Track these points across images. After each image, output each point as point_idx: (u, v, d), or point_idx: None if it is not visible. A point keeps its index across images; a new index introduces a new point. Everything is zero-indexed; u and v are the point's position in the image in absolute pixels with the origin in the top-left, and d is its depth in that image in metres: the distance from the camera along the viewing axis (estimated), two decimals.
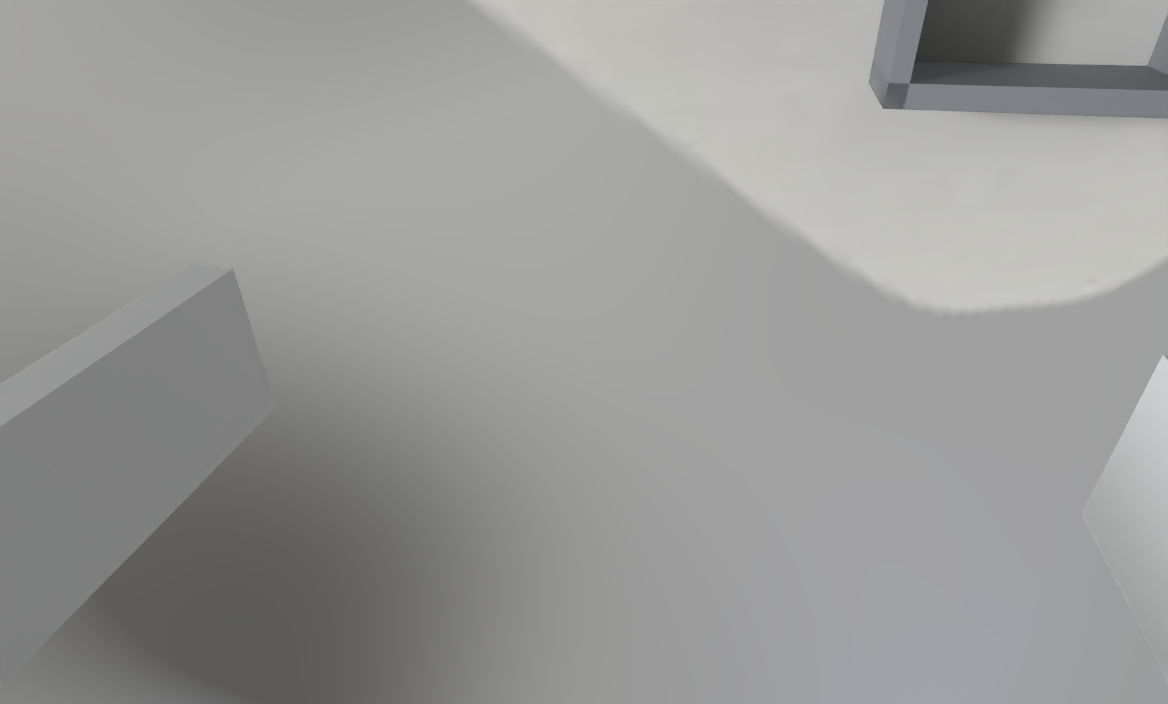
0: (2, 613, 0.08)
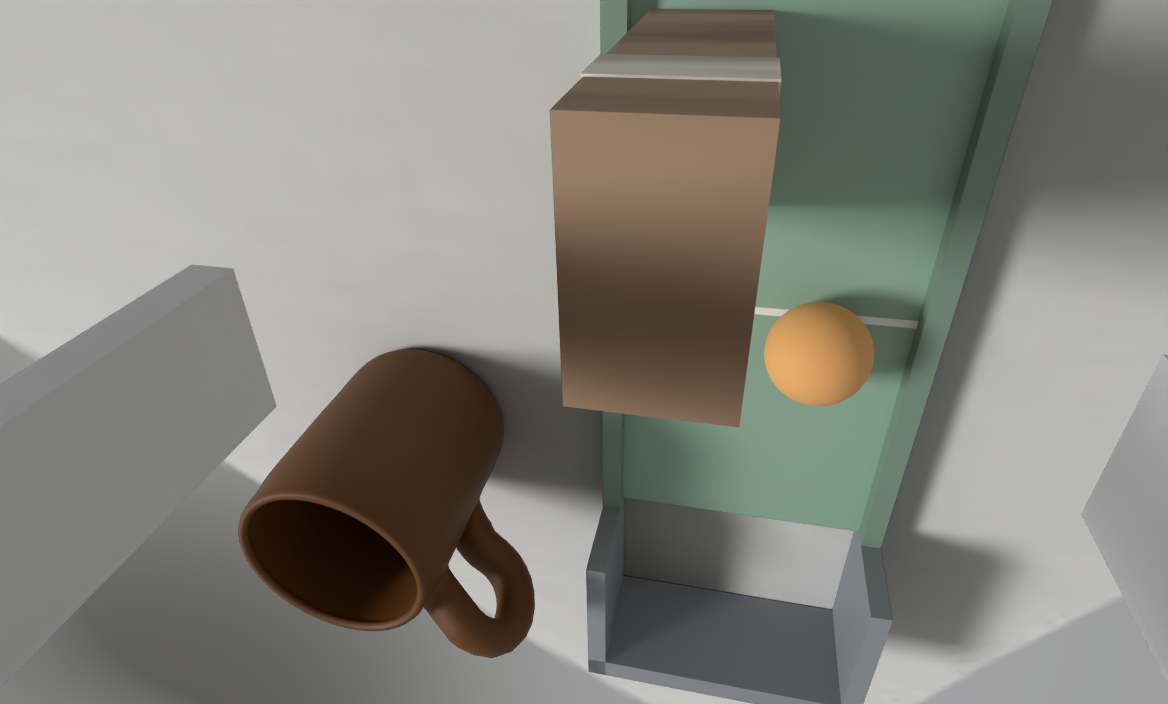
0: (2, 613, 0.08)
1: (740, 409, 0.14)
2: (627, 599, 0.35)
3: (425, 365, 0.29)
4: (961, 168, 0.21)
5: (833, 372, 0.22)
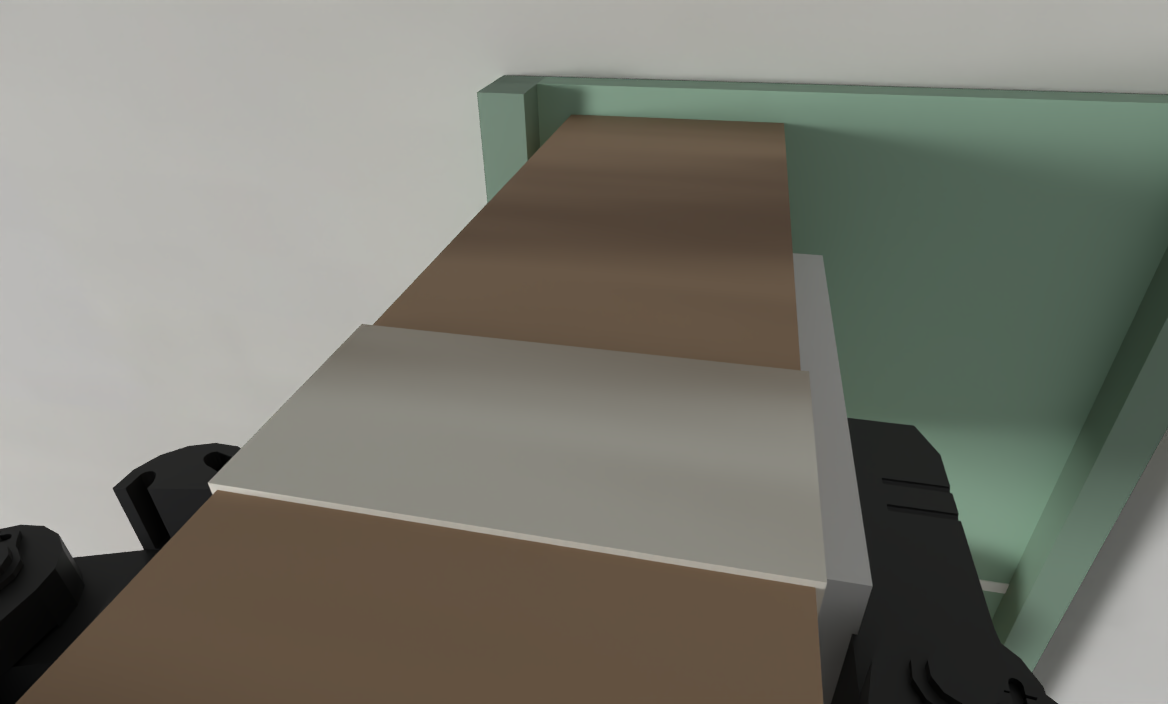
0: None
1: None
2: None
3: None
4: (1103, 384, 0.13)
5: None
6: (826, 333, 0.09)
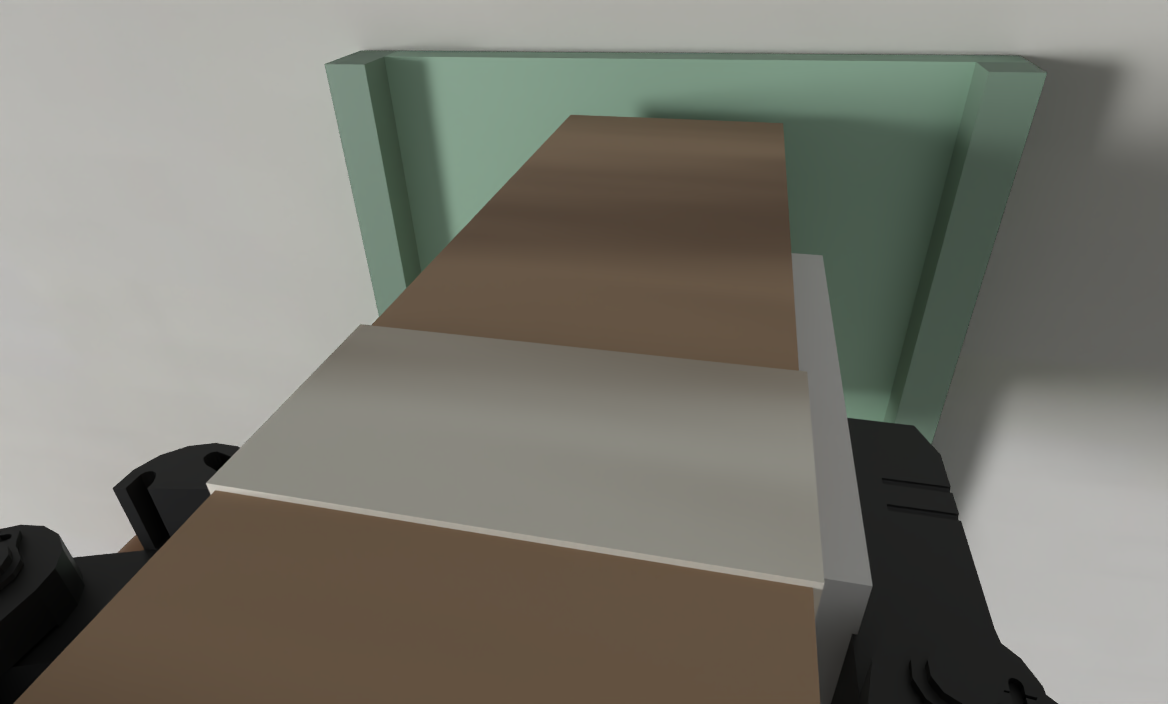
0: None
1: None
2: None
3: None
4: (908, 323, 0.14)
5: None
6: (826, 333, 0.09)
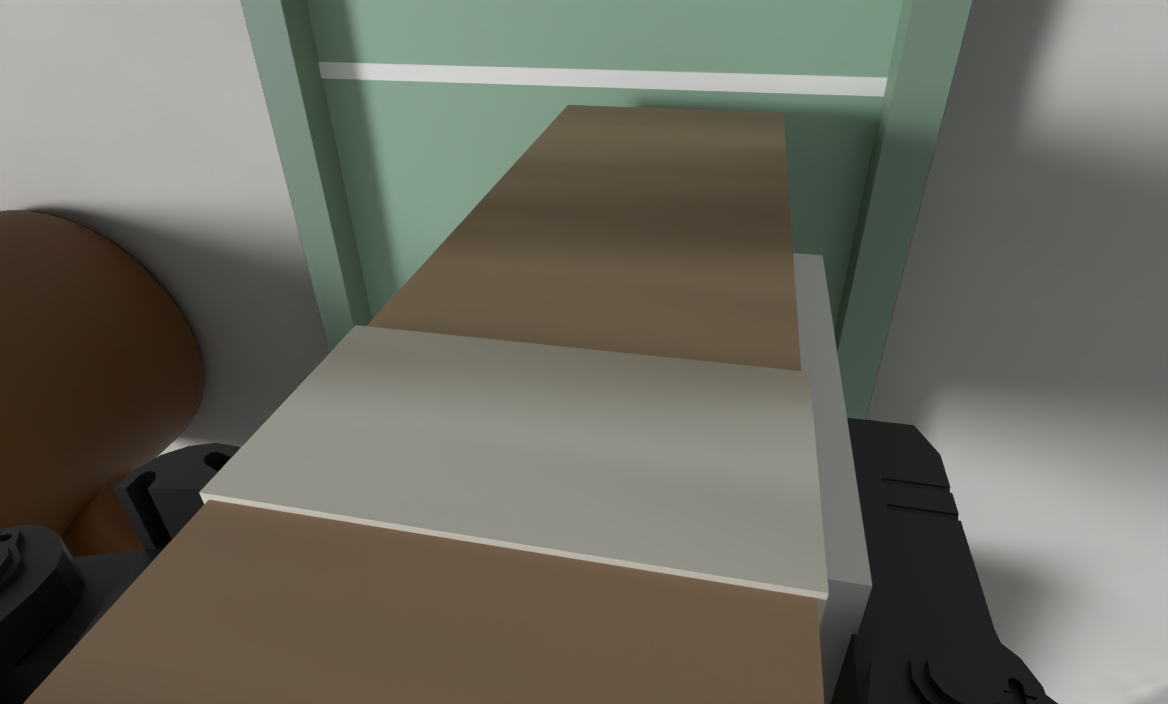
0: None
1: None
2: None
3: (14, 228, 0.16)
4: None
5: None
6: (826, 333, 0.09)
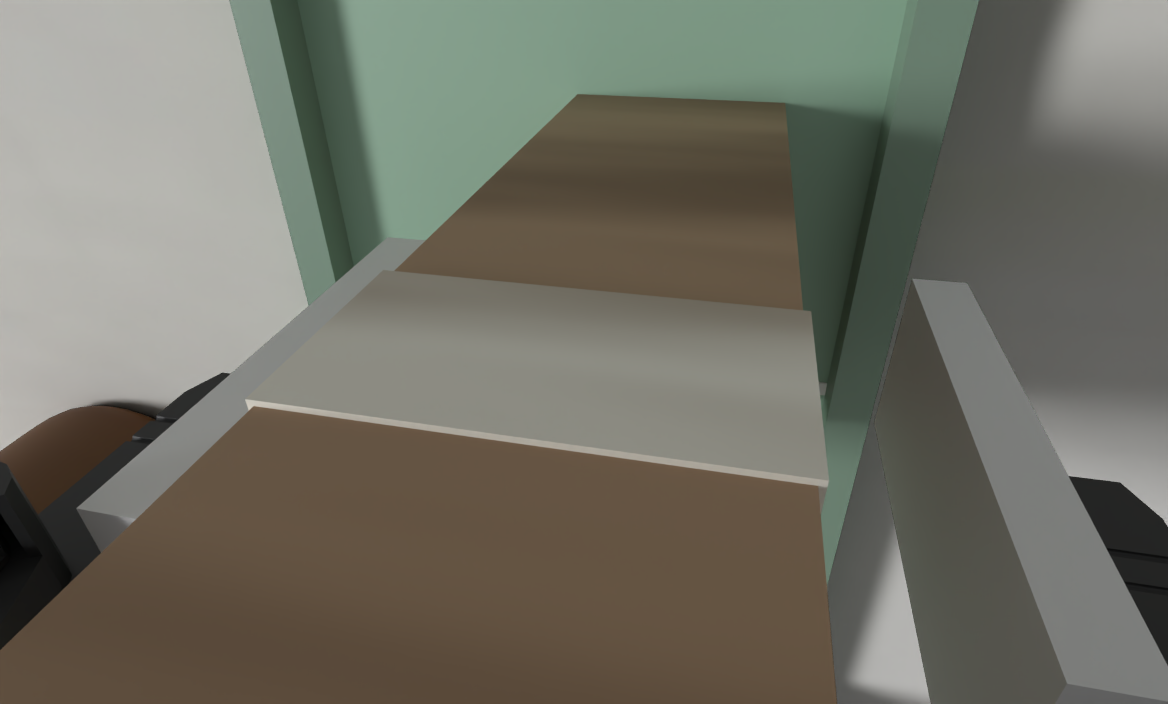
0: None
1: None
2: None
3: (102, 433, 0.19)
4: (883, 111, 0.11)
5: None
6: (1006, 375, 0.08)
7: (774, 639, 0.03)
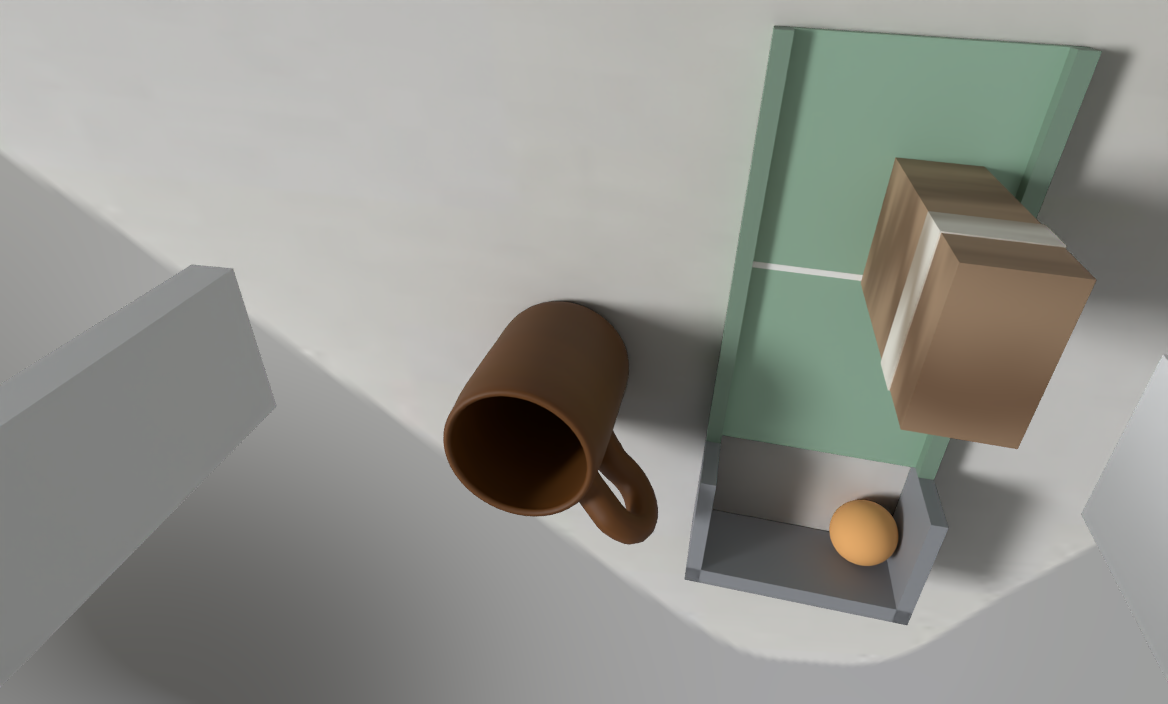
0: (2, 613, 0.08)
1: (1022, 437, 0.22)
2: (713, 526, 0.42)
3: (577, 312, 0.37)
4: (1024, 172, 0.29)
5: None
6: None
7: (1068, 259, 0.21)
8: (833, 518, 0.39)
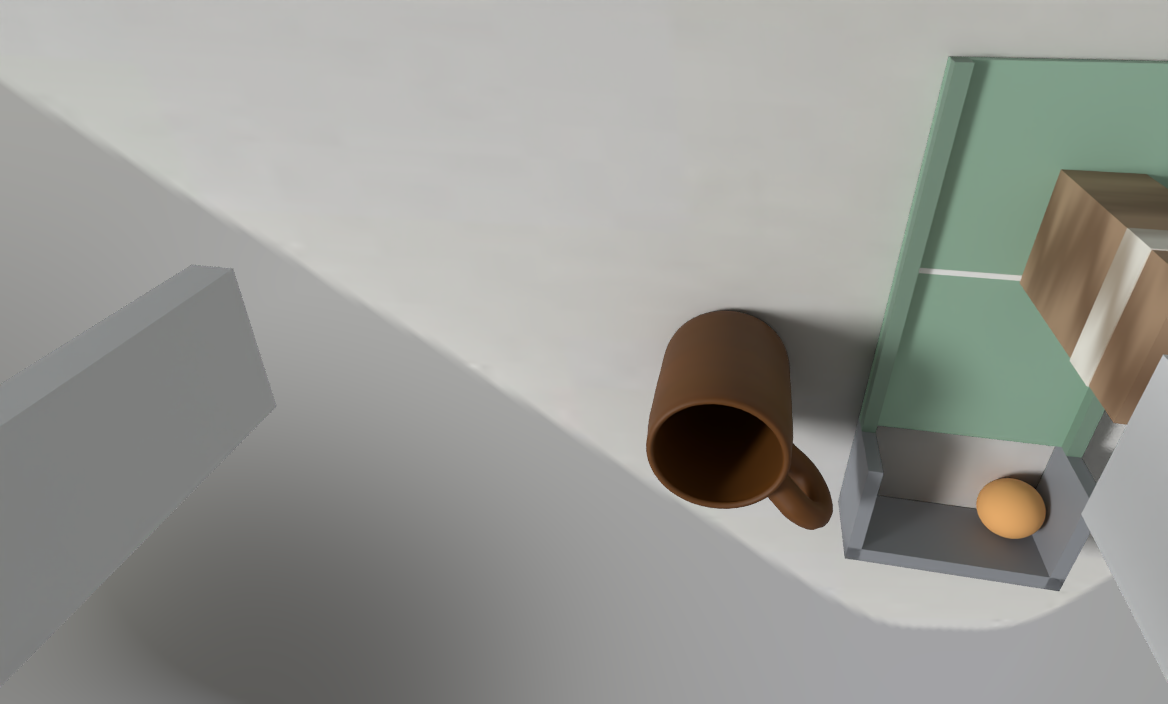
0: (2, 613, 0.08)
1: None
2: None
3: (745, 321, 0.40)
4: None
5: None
6: None
7: None
8: (981, 496, 0.43)
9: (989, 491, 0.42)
